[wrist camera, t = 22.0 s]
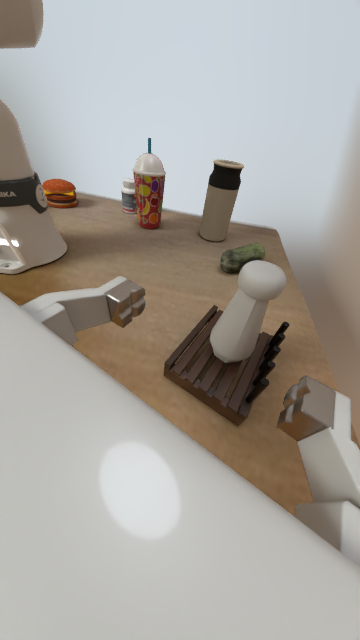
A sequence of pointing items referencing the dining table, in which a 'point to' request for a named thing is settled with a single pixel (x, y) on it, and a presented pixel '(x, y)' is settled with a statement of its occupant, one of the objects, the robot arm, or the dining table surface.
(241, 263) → the vegetable
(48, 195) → the hamburger
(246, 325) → the salt shaker
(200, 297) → the dining table surface
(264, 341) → the drying rack
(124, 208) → the pill bottle
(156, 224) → the smoothie
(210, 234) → the travel mug
